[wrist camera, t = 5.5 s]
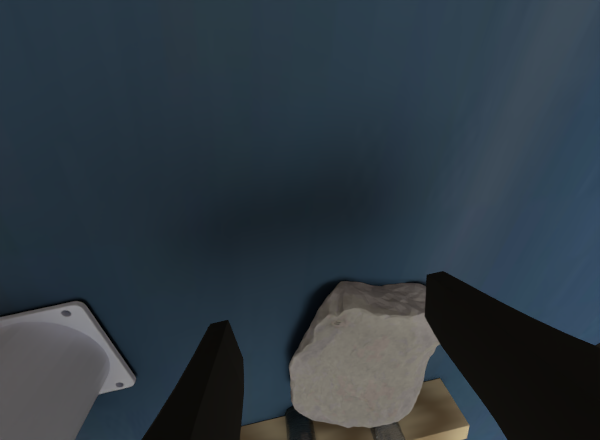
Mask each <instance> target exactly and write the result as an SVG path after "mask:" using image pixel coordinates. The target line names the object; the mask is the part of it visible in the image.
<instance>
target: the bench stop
mask: <svg viewBox="0 0 600 440" xmlns="http://www.w3.org/2000/svg"><path fill="white" fill-rule="evenodd" d="M468 430H469V424H468V422H467V421H466V419H465V418H464V416H463V414H462V413H461V411H460V410H459V408H458V406H457V405H456V403H455V401H454V400H453V398H452V397H451V395H450V393H449V392H448V390H447V389H446V387H445V385H444V384H443V382H442V381H441V379H440V378H439V379H435V380H431V381H427V382H423V384H422V388H421V390H420V394H419V395H418V397H417V400H416V403H415V404H414V406H413V408H412V410H411V412H410V413H409V414H408V415H406V416H405V417H404V418H402V419H401V420H400V421H398V422H394V423H392V424H388V425H381V426H377V427H372V428H367V427H363V426H362V427H350V428H347V427H344V426H340V425H337V424H330V423H326V422H319V421H313V420H311V419H309V418H307V417H305V416H303V415H302V414H300V413H299V412H298V411H297V410H295V408H294V406H292V407H290V408H289V409H288V410H287V411H286V412H285V416H283V417H279V418H275V419H271V420H267V421H262V422H258V423H254V424H250V425H246V426H242V427H241V432H240V440H462V439H466V438H467V434H468Z"/></svg>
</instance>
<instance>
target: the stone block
mask: <svg viewBox="0 0 600 440" xmlns="http://www.w3.org/2000/svg"><path fill="white" fill-rule="evenodd" d="M425 298H426V286H424V285H422V284H419V283H400V284H389V285H384V286H372V285H367V284H365V283H362V282H350V281H342V282H340V283H339V284H338V285H337V286H336V287H335V289H334V290H333V291H332V292H331V293H330V294H329V295H328V296H327V298H326V299H325V300H324V302H323V304H322V305H321V306H320V308H319V309H318V310H317V314H316V316H315V317H314V319H313V321H312V322H311V325H310V327H309V329H308V330H307V332H306V333H305V334H304V336H303V340H302V341H301V342H300V344H299V346H298V349H297V350H296V352H295V353H294V355H293V356H292V359H291V361H290V364H289V371H290V379H291V382H290V387H291V391H290V393H291V401H292V403H293V406H294V408H295V410H297V411H298V412H299V413H300V414H302V415H303V416H305V417H307V418H309V419H311V420H313V421H319V422H326V423H330V424H337V425H340V426H344V427H347V428H350V427H362V426H363V427H367V428H372V427H377V426H381V425H388V424H392V423H394V422H398V421H400V420H401V419H402V418H404V417H405V416H406V415H408V414H409V413H410V412H411V410H412V408H413V406H414V404H415V403H416V400H417V397H418V395H419V394H420V390H421V388H422V384H423V380H424V374H425V369H426V365H427V362H428V360H429V357H430V356H431V355H433V353H434V351H435V348H436V347H437V346H438V345H439V344H440V343H439V341H438V340H437V338H436V336H435V334H434V333H433V331H432V329H431V327H430V326H429V324H428V322H427V320H426V318H425V316H424V315H425Z"/></svg>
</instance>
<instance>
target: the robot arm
mask: <svg viewBox="0 0 600 440" xmlns="http://www.w3.org/2000/svg"><path fill="white" fill-rule="evenodd" d="M68 311H70V312H68ZM424 316H425V318H426V320H427V322H428V324H429V326H430V327H431V329H432V331H433V333H434V334H435V336H436V338H437V340H438V341H439V343H440V344H441V346H442V347H443V349H444V350H445V351H446V353H447V354H448V355H449V357H450V358H451V360H452V361H453V362H454V364H455V365H456V366H457V368H458V369H459V371H460V372H461V373H462V375H463V376H464V377H465V379H466V380H467V381H468V383H469V384H470V385H471V387H472V388H473V390H474V391H475V392H476V394H477V395H478V396H479V398H480V399H481V400H482V402H483V403H484V405H485V406H486V407H487V409H488V410H489V412H490V413H491V415H492V416H493V418H494V419H495V420H496V422H497V424H498V425H499V427H500V428H501V430H502V432H503V433H504V435H505V436H506V438H507V440H600V347H597V346H595V345H592V344H590V343H588V342H585V341H583V340H580V339H578V338H576V337H573V336H571V335H569V334H566V333H564V332H562V331H560V330H557V329H555V328H553V327H551V326H549V325H547V324H544V323H542V322H540V321H538V320H536V319H534V318H532V317H530V316H528V315H526V314H524V313H522V312H520V311H518V310H516V309H514V308H512V307H510V306H508V305H506V304H504V303H502V302H500V301H498V300H496V299H494V298H492V297H490V296H489V295H487V294H485V293H483V292H481V291H479V290H477V289H476V288H474V287H472V286H470V285H468V284H466V283H465V282H463V281H461V280H459V279H457V278H455V277H453V276H451V275H449V274H448V273H446V272H444V271H442V272H437V273H433V274H429V275H427V280H426V298H425V315H424ZM135 381H136V377H135V375H134V374H133V373H132V371H131V370H130V368H129V367H128V365H127V364H126V362H125V361H124V359H123V358H122V357H121V355H120V354H119V352H118V351H117V349H116V348H115V346H114V345H113V344H112V342H111V341H110V339H109V338H108V336H107V335H106V333H105V332H104V330H103V329H102V328H101V326H100V325H99V323H98V322H97V320H96V319H95V317H94V316H93V315H92V313H91V312H90V310H89V309H88V307H87V306H86V305H85V304H84V303H82V302H79V301H74V302H69V303H64V304H60V305H55V306H50V307H46V308H41V309H36V310H32V311H27V312H22V313H18V314H13V315H8V316H4V317H0V440H75V438H76V436H77V434H78V432H79V430H80V428H81V426H82V424H83V423H84V421H85V419H86V417H87V415H88V413H89V411H90V409H91V407H92V405H93V403H94V401H95V400H96V398H97V396H98V394H102V393H106V392H110V391H115V390H119V389H123V388H128V387H131V386H133V385H134V383H135ZM243 396H244V367H243V357H242V354H241V352H240V349H239V347H238V344H237V341H236V339H235V336H234V334H233V331H232V328H231V326H230V323H229V321H228V320H226V321H221V322H217V323H212V324H210V326H209V327H208V329H207V331H206V333H205V335H204V336H203V338H202V340H201V342H200V344H199V346H198V348H197V350H196V351H195V353H194V355H193V357H192V359H191V360H190V362H189V364H188V366H187V368H186V369H185V371H184V373H183V374H182V376H181V378H180V380H179V381H178V383H177V385H176V387H175V388H174V390H173V392H172V393H171V395H170V396H169V398H168V400H167V401H166V403H165V404H164V406H163V407H162V409H161V411H160V412H159V414H158V415H157V417H156V419H155V420H154V422H153V423H152V425H151V426H150V428H149V429H148V431H147V432H146V434H145V435H144V437H143V438H142V440H240V432H241V420H242V408H243Z"/></svg>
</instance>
